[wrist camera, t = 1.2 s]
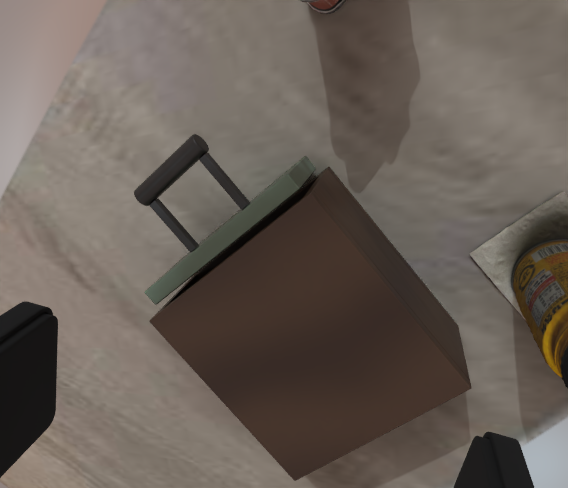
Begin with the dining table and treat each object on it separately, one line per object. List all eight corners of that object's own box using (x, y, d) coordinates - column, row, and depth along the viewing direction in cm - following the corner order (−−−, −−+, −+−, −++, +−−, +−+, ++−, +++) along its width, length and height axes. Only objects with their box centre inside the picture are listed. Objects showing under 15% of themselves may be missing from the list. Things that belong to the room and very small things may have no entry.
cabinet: (193, 275, 42) (148, 321, 35) (329, 166, 37) (310, 192, 29) (312, 410, 44) (294, 481, 37) (458, 325, 39) (471, 388, 31)
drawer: (132, 205, 40) (87, 229, 34) (253, 91, 35) (224, 96, 29) (295, 390, 43) (278, 441, 37) (429, 307, 38) (435, 352, 32)
